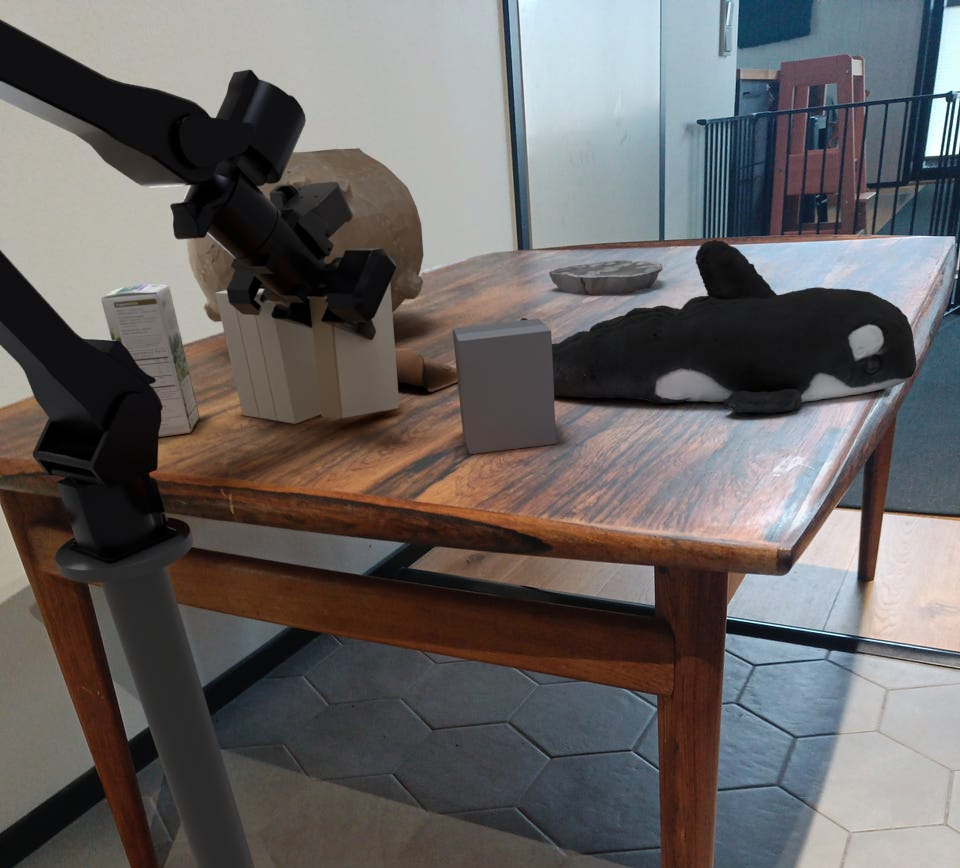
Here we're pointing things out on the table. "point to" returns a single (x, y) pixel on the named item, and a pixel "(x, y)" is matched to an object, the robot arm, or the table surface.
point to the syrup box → (155, 349)
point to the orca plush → (741, 345)
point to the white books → (271, 363)
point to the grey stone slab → (607, 277)
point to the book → (355, 364)
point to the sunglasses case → (423, 371)
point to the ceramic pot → (375, 224)
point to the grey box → (505, 385)
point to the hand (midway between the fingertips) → (361, 334)
